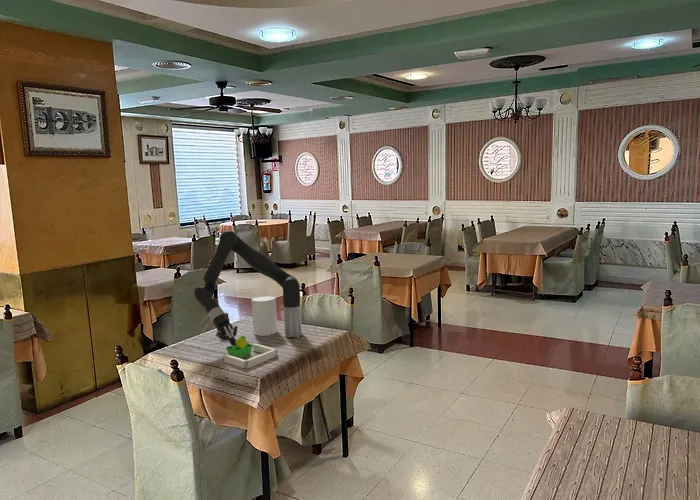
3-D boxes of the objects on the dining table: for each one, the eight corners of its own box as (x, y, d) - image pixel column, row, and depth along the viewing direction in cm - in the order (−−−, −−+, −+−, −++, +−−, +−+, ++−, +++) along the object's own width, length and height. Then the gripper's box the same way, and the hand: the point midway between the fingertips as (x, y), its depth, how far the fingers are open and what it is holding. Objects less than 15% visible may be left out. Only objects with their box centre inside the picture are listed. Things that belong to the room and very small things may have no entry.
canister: (249, 334, 285) (247, 300, 282) (260, 327, 298) (258, 295, 295) (271, 336, 281) (268, 301, 278) (281, 329, 294) (279, 295, 291)
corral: (224, 361, 245) (223, 354, 244) (255, 349, 260) (255, 343, 259) (245, 369, 234) (245, 361, 234) (277, 356, 250) (277, 349, 249)
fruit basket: (246, 351, 258) (244, 330, 256) (255, 355, 251) (253, 334, 250) (226, 357, 251) (224, 335, 249) (234, 361, 244) (233, 339, 242)
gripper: (210, 316, 253) (227, 344, 247) (231, 310, 263) (248, 337, 257) (205, 325, 257) (221, 352, 251) (226, 318, 267) (242, 345, 261)
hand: (235, 344), depth 254 cm, fingers closed
